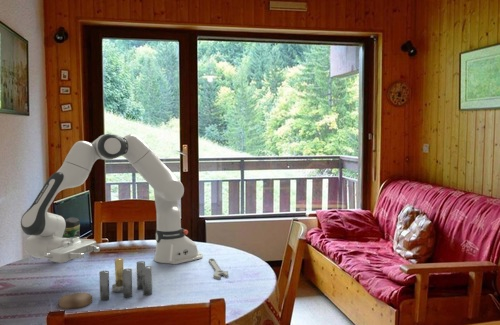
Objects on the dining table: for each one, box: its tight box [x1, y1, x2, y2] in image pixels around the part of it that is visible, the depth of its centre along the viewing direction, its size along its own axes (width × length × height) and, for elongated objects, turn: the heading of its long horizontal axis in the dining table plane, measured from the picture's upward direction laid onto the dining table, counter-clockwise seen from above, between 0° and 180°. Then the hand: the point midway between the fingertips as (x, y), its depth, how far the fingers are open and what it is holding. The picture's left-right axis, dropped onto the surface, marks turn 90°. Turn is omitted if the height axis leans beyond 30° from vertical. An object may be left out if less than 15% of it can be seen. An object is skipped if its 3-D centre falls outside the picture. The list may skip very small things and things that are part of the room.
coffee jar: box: [62, 216, 81, 239], centre depth 207 cm, size 10×8×19 cm
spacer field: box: [98, 260, 153, 302], centre depth 161 cm, size 15×17×10 cm
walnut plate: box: [58, 292, 93, 310], centre depth 153 cm, size 11×11×2 cm
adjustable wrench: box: [208, 258, 229, 280], centre depth 189 cm, size 25×6×2 cm, turn 11°
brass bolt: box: [111, 257, 124, 294], centre depth 165 cm, size 6×6×12 cm
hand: (90, 252), depth 168 cm, fingers open, 8 cm apart
